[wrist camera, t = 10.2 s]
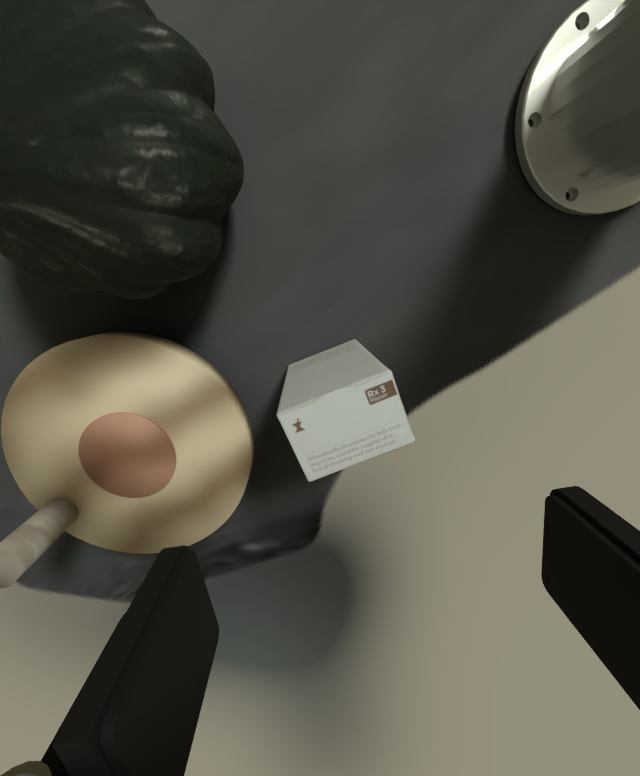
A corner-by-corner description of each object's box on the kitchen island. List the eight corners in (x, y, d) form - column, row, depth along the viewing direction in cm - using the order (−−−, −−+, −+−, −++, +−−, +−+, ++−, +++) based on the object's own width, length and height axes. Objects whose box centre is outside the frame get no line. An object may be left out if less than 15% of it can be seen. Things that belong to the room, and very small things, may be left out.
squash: (129, -152, 15) (-563, -420, 6) (331, 162, 19) (101, 277, 10) (90, 113, 26) (-184, 159, 17) (226, 278, 30) (67, 385, 21)
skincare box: (307, 409, 29) (305, 492, 17) (286, 361, 28) (269, 417, 16) (375, 382, 28) (420, 450, 17) (356, 332, 27) (391, 369, 16)
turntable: (299, 457, 28) (295, 521, 20) (147, 570, 31) (94, 663, 23) (133, 278, 24) (49, 276, 16) (-26, 429, 27) (-161, 489, 19)
